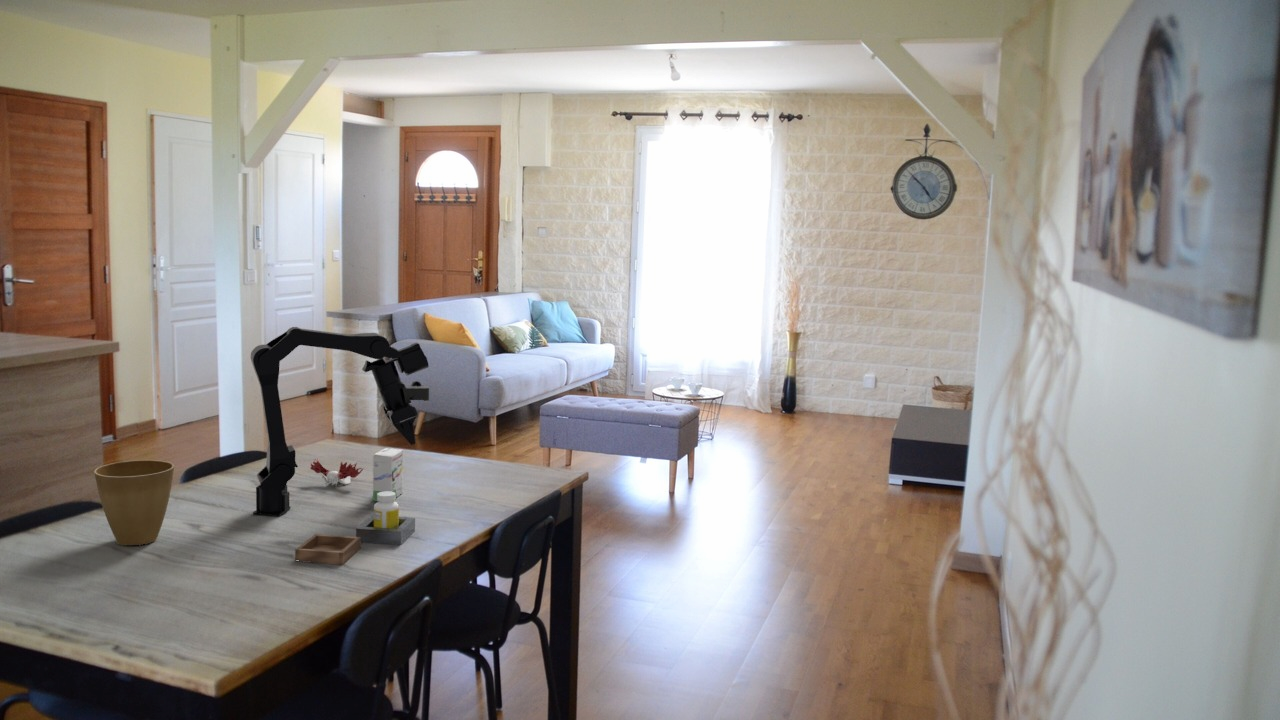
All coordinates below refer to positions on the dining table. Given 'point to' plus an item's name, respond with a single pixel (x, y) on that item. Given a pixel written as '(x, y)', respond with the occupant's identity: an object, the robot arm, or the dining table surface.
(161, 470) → the plant pot
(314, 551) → the walnut tray
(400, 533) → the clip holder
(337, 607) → the dining table surface
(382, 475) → the ink box
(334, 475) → the figurine
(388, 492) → the supplement bottle
